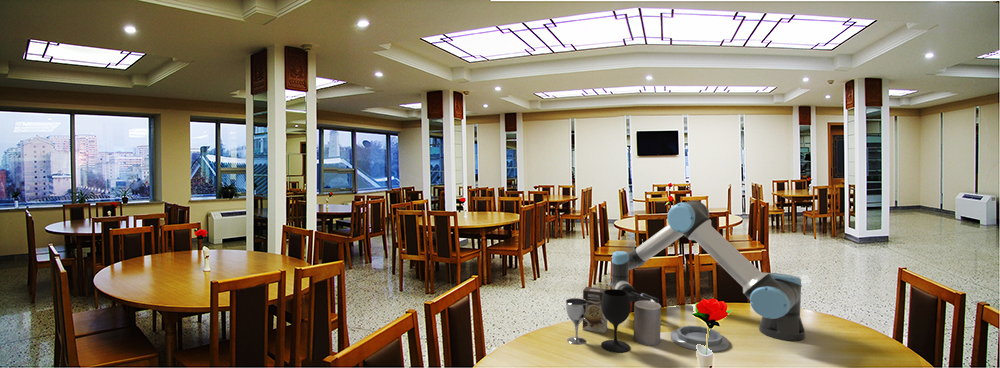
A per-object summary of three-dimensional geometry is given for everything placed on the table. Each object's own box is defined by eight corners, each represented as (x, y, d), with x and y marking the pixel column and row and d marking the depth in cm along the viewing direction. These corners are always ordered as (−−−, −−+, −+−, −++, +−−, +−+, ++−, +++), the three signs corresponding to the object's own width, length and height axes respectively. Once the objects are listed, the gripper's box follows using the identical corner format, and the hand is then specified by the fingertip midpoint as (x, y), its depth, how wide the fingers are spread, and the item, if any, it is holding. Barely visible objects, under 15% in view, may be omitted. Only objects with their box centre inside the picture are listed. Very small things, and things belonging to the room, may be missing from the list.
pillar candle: (628, 337, 171) (628, 299, 170) (648, 333, 175) (648, 295, 174) (645, 347, 162) (646, 307, 161) (666, 342, 166) (667, 303, 165)
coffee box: (582, 330, 179) (582, 290, 178) (585, 324, 185) (585, 285, 184) (605, 333, 175) (605, 292, 174) (607, 327, 181) (608, 288, 180)
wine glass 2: (631, 354, 157) (632, 297, 155) (601, 351, 159) (601, 296, 158) (629, 341, 167) (629, 289, 166) (600, 339, 169) (600, 287, 168)
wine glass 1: (589, 338, 170) (589, 299, 169) (584, 346, 163) (584, 306, 162) (569, 335, 174) (569, 297, 173) (563, 342, 167) (563, 303, 166)
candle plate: (720, 332, 176) (720, 325, 175) (736, 354, 156) (736, 346, 156) (666, 328, 179) (666, 321, 179) (675, 349, 160) (676, 342, 160)
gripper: (653, 300, 199) (670, 317, 178) (597, 300, 199) (607, 317, 178) (653, 283, 198) (671, 298, 177) (597, 283, 199) (607, 298, 178)
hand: (639, 308), depth 178 cm, fingers open, 13 cm apart
